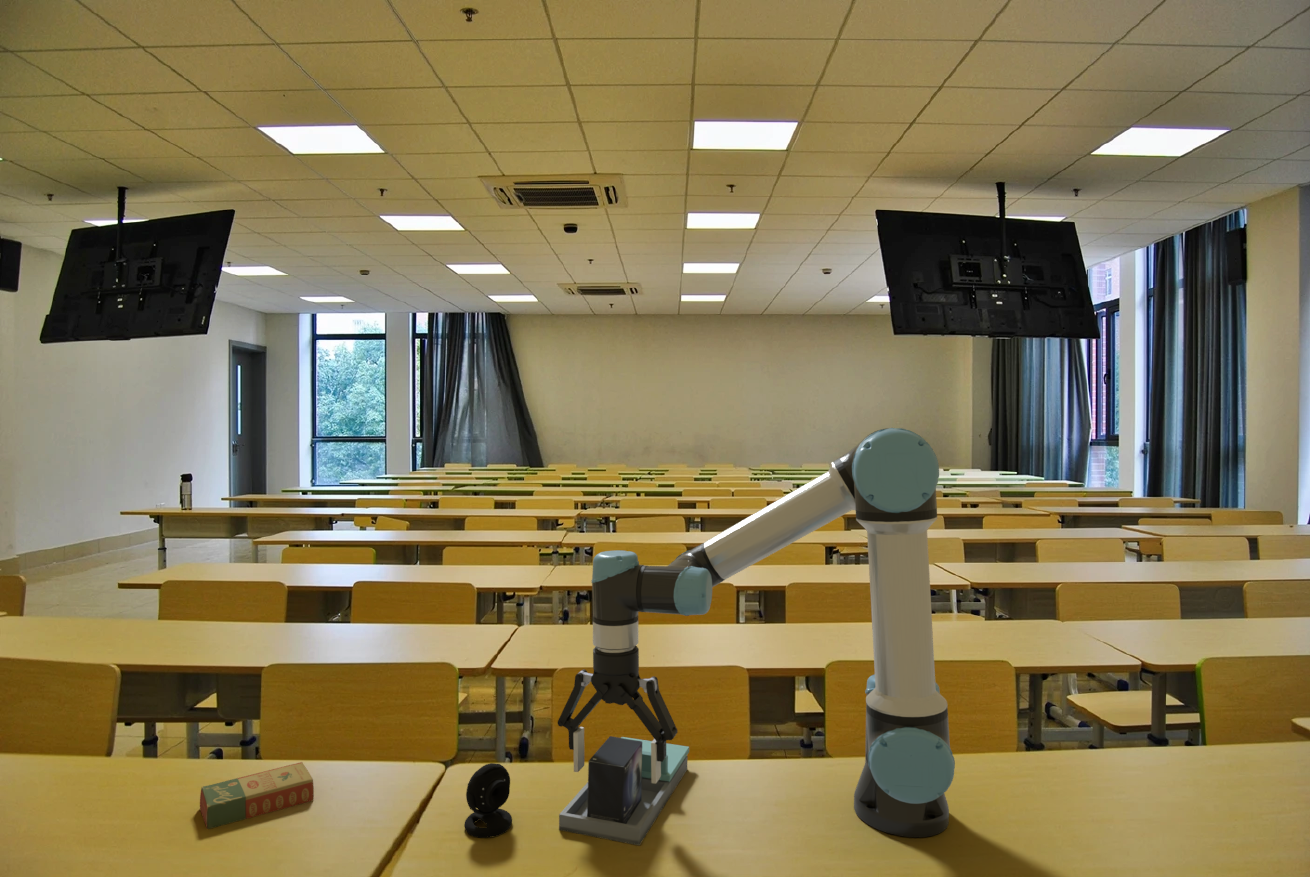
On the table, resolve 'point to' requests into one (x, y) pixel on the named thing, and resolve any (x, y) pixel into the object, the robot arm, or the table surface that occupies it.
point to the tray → (637, 824)
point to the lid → (670, 763)
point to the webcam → (488, 801)
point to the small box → (615, 780)
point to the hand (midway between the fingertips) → (617, 774)
